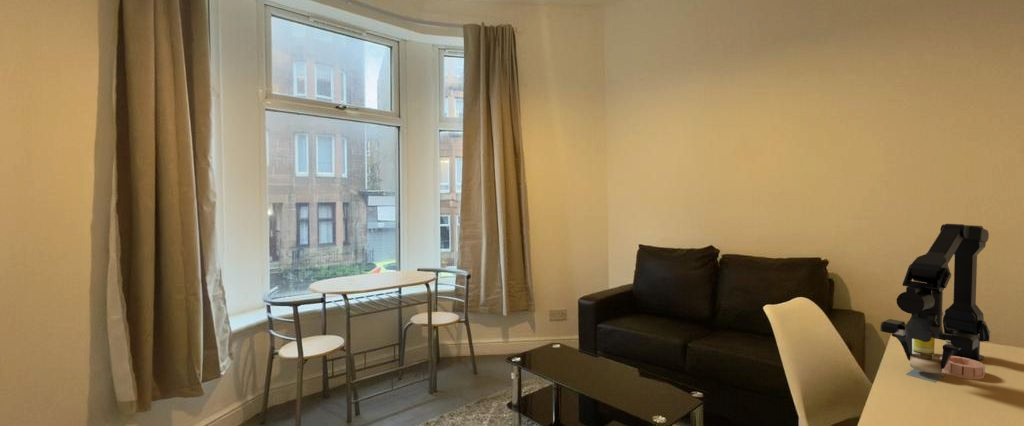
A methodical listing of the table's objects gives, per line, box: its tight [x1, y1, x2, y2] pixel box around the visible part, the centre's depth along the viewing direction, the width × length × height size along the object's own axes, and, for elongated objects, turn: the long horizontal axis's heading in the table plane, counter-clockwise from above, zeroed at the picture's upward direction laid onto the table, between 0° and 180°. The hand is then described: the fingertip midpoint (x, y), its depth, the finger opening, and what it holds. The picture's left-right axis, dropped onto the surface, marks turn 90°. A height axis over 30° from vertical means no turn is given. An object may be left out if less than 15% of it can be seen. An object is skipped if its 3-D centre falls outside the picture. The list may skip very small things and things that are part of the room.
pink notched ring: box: [939, 356, 986, 380], centre depth 121 cm, size 8×8×4 cm
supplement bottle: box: [912, 338, 936, 356], centre depth 135 cm, size 5×5×10 cm
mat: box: [905, 368, 947, 383], centre depth 120 cm, size 9×6×1 cm, turn 122°
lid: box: [909, 353, 943, 373], centre depth 120 cm, size 6×6×4 cm
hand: (925, 364), depth 120 cm, fingers closed on lid, 6 cm apart
